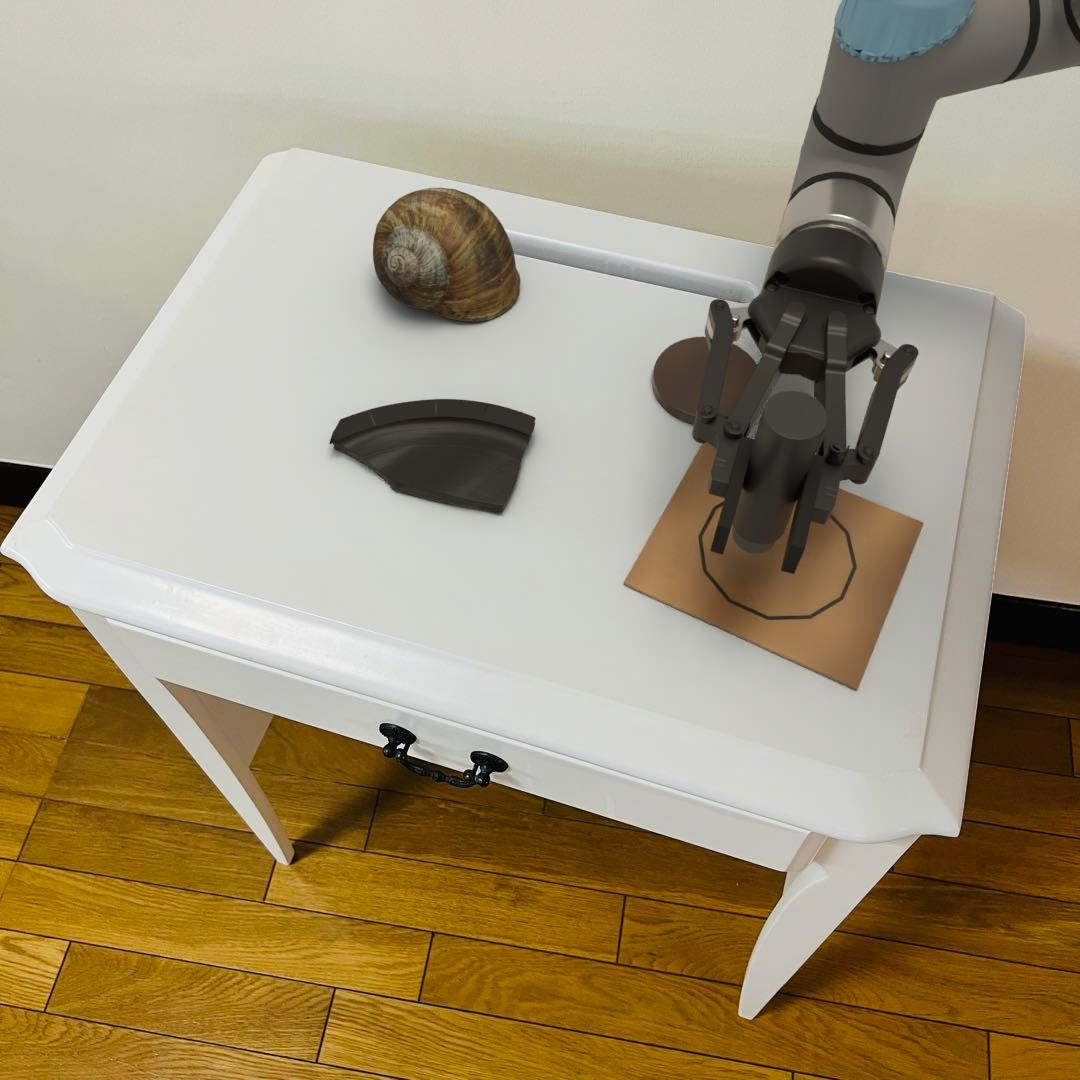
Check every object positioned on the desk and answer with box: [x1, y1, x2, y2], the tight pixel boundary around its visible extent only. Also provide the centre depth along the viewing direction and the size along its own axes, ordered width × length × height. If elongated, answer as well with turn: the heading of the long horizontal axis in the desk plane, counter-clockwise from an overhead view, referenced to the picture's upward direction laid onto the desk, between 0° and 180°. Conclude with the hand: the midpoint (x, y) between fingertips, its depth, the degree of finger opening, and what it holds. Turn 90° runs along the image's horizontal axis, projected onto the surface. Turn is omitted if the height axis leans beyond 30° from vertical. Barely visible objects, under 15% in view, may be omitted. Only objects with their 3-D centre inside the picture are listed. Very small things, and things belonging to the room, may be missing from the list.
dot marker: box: [732, 390, 827, 554], centre depth 61 cm, size 3×3×12 cm
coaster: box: [651, 336, 758, 425], centre depth 77 cm, size 8×8×1 cm
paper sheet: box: [623, 443, 924, 691], centre depth 70 cm, size 16×14×1 cm
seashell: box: [372, 187, 521, 322], centre depth 80 cm, size 11×9×8 cm
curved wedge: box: [328, 398, 537, 514], centre depth 74 cm, size 8×14×2 cm, turn 74°
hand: (756, 549), depth 58 cm, fingers closed on dot marker, 3 cm apart
